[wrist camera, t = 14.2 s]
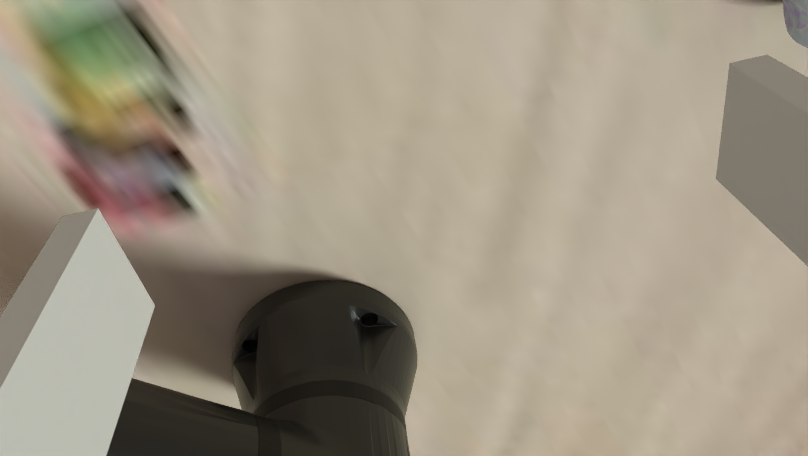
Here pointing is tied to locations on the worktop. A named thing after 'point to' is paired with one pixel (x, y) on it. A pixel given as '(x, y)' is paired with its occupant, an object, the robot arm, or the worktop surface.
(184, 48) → the worktop surface
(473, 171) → the worktop surface
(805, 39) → the pencil case
